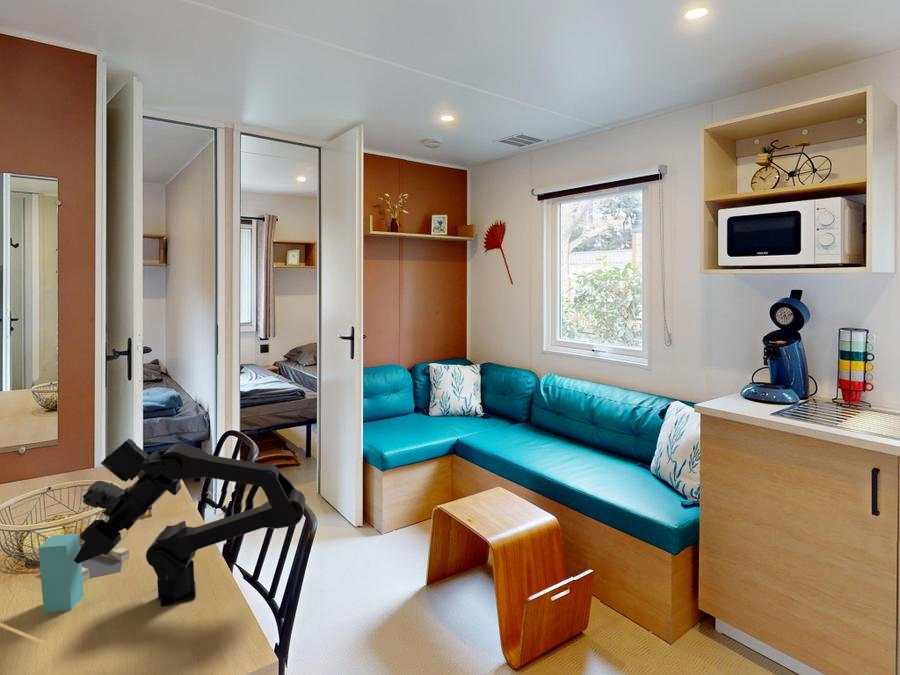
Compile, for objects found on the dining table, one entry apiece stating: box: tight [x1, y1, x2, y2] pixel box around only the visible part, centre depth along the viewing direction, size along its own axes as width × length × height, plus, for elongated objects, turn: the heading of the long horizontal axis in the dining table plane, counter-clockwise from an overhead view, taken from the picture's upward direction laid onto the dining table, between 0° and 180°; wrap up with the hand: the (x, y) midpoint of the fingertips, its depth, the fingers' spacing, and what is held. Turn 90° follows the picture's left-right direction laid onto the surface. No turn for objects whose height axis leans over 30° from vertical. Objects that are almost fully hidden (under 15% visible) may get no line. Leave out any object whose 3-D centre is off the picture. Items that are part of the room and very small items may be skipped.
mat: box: [81, 555, 123, 579], centre depth 125 cm, size 12×12×1 cm
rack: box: [82, 545, 130, 582], centre depth 126 cm, size 11×12×2 cm
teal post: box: [38, 533, 85, 613], centre depth 110 cm, size 5×5×14 cm
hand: (87, 550), depth 110 cm, fingers open, 9 cm apart
